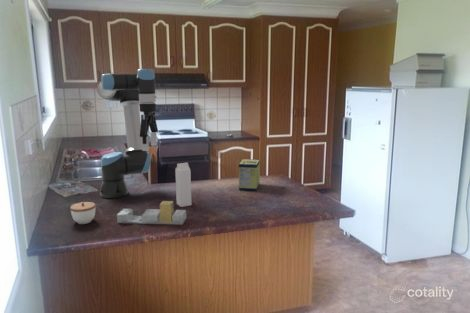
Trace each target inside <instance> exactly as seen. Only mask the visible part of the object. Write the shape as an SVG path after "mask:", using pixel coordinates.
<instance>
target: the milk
mask: <svg viewBox="0 0 470 313" xmlns="http://www.w3.org/2000/svg"><path fill="white" fill-rule="evenodd" d="M174 170H175V172H174V173H175V195H176V205H178V206H179V207H180V208H183V207H188V206H192V204H193V203H192V180H191V177H192V174H191V168H190V166H189V162H183V163H182V162H181V163H177V164H176V167H175V168H174Z"/></svg>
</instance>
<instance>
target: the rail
mask: <svg viewBox="0 0 470 313" xmlns="http://www.w3.org/2000/svg"><path fill="white" fill-rule="evenodd" d="M172 217H173V220H172V221H161V219H160V208H159V209H158V208H157V209H155V208H154V209H153V208H149V209H148V208H147V209H146V210H145V211H144V212H143V213H142V214H141V215H134V210H133V208H122V209H121V210H120V211H119V212H118V213H117V214H116V219H117V224H143V225H144V224H145V225H184V223H185V221H186V219H187V209H175V210H174V214H173V216H172Z"/></svg>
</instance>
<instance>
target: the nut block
mask: <svg viewBox="0 0 470 313" xmlns="http://www.w3.org/2000/svg"><path fill="white" fill-rule="evenodd" d="M159 209H160V219H161V221H172V220H173V217H172V216H173V214H174V213H175V209H174V200H162V201H161V202H160V203H159Z"/></svg>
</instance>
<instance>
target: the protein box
mask: <svg viewBox="0 0 470 313" xmlns="http://www.w3.org/2000/svg"><path fill="white" fill-rule="evenodd" d="M260 162H261V161H260V159H255V158H253V159H251V158H243V159H242V160H241V161H240V162H239V164H238V190H239V191H249V192H250V191H251V192H257V191H258V188H259V186H260V168H261V167H260V165H261V164H260Z"/></svg>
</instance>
